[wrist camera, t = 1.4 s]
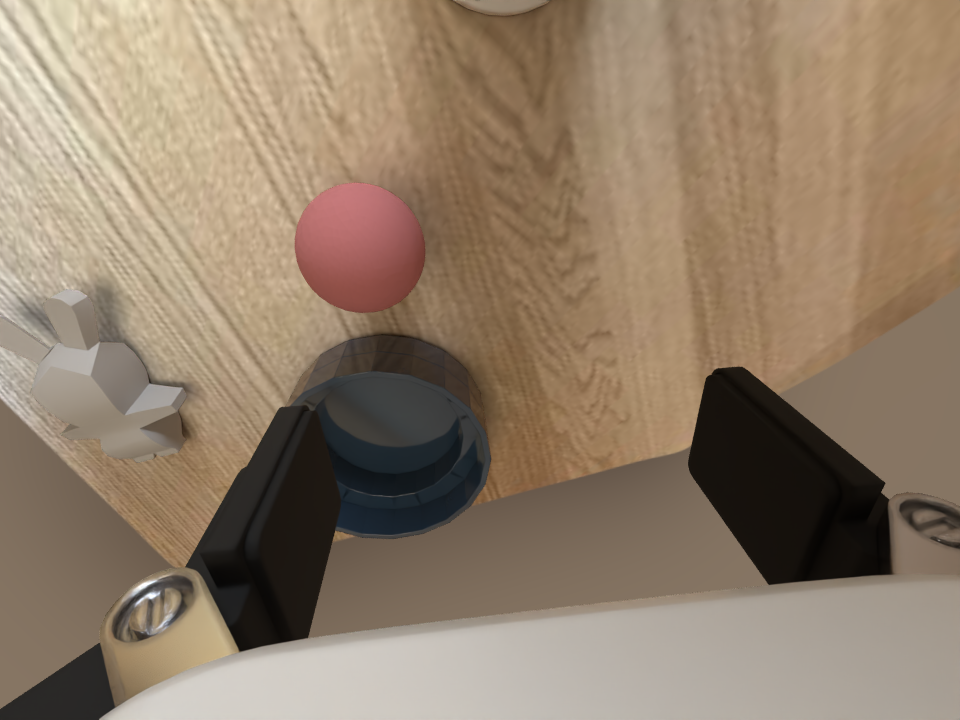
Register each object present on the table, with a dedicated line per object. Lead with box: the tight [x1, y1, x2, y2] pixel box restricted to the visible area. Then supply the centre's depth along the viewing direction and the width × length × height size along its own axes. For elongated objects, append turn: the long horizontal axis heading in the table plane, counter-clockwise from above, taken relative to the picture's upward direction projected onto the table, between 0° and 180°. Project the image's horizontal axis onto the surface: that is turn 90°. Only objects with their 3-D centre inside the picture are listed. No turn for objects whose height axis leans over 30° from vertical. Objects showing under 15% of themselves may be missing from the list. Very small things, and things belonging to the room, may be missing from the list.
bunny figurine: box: [0, 289, 187, 463], centre depth 35 cm, size 10×5×15 cm
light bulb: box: [295, 183, 425, 313], centre depth 28 cm, size 7×7×12 cm
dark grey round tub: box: [285, 335, 491, 539], centre depth 39 cm, size 17×17×6 cm
